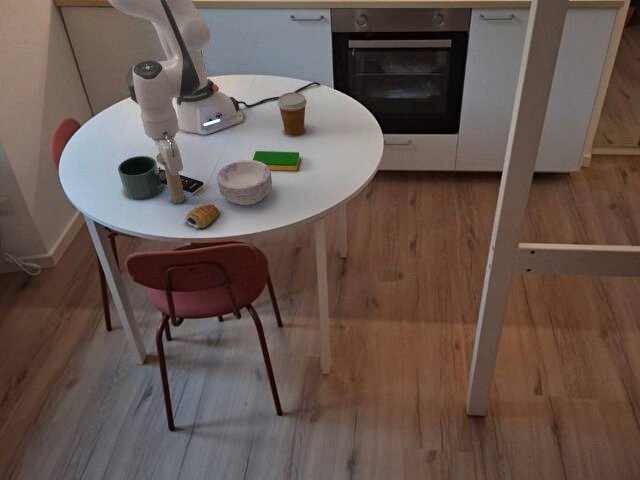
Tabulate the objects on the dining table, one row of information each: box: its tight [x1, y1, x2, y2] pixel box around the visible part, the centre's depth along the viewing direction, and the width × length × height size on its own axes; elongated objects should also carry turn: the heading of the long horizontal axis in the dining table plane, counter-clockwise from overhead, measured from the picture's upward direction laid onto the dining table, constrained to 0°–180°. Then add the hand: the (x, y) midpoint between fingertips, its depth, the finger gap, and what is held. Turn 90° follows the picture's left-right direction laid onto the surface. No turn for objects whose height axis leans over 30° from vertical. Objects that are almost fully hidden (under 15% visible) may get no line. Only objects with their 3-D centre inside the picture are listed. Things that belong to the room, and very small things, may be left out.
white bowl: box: [216, 159, 273, 206], centre depth 176 cm, size 15×15×8 cm
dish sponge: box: [252, 150, 301, 172], centre depth 191 cm, size 7×14×2 cm, turn 86°
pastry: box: [184, 204, 219, 229], centre depth 169 cm, size 9×7×4 cm
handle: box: [155, 152, 185, 204], centre depth 172 cm, size 5×6×15 cm
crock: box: [117, 155, 163, 200], centre depth 179 cm, size 11×11×8 cm
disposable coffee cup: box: [277, 91, 308, 137], centre depth 202 cm, size 10×10×12 cm
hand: (171, 169), depth 170 cm, fingers closed on handle, 4 cm apart
